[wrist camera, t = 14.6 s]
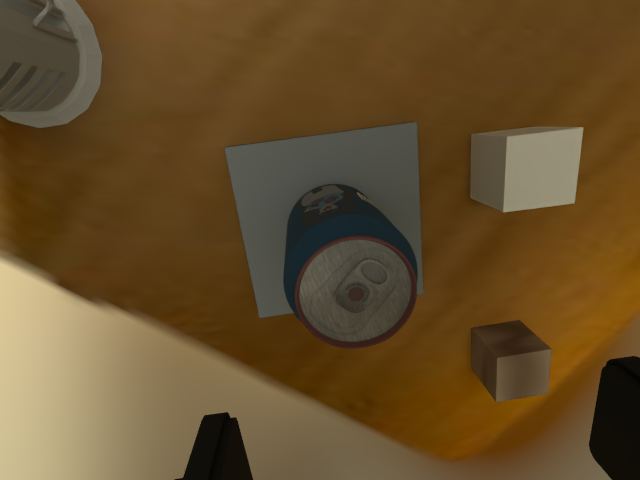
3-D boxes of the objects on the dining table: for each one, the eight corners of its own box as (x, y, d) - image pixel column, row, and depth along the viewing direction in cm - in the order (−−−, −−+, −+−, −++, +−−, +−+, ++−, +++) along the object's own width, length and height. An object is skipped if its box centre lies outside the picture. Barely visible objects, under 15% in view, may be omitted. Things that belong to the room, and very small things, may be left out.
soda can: (338, 282, 29) (365, 382, 18) (269, 233, 28) (251, 311, 16) (393, 217, 28) (460, 281, 17) (324, 162, 26) (346, 191, 15)
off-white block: (534, 126, 28) (583, 127, 23) (529, 190, 29) (574, 203, 24) (470, 134, 28) (507, 136, 23) (469, 197, 29) (503, 212, 24)
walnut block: (518, 319, 33) (551, 349, 29) (516, 359, 35) (547, 393, 30) (471, 327, 33) (497, 357, 29) (471, 367, 34) (496, 402, 30)
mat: (412, 122, 27) (416, 122, 26) (419, 289, 31) (423, 294, 30) (227, 146, 26) (224, 147, 26) (260, 312, 31) (259, 318, 30)
